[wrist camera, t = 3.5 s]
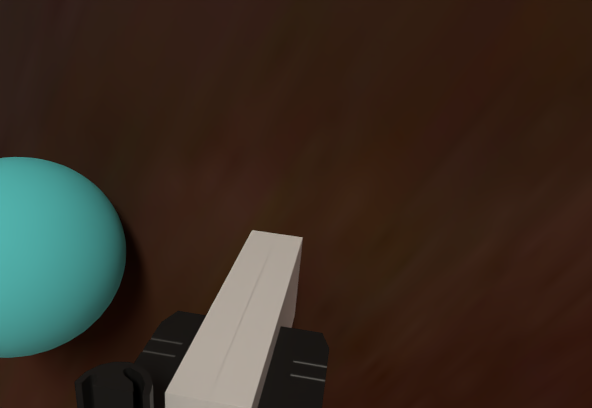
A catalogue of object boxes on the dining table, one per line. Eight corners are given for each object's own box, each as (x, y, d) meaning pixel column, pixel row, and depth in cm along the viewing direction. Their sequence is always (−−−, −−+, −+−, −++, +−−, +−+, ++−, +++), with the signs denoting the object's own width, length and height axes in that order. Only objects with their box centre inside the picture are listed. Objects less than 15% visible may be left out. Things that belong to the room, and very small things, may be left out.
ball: (154, 147, 16) (38, 217, 11) (159, 300, 19) (65, 422, 13) (-10, 126, 17) (-198, 182, 12) (14, 276, 19) (-133, 382, 14)
